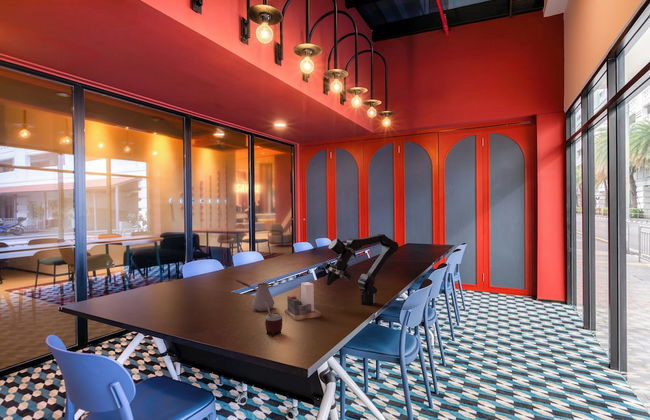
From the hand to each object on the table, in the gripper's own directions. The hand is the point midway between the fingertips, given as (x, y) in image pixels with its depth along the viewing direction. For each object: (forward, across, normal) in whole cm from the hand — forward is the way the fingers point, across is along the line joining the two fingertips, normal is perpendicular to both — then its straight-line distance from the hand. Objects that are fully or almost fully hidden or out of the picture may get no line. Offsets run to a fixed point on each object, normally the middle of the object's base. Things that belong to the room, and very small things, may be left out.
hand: (327, 285), depth 174 cm
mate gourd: (+32, -14, +24) cm, 42 cm away
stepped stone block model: (+19, +1, +3) cm, 19 cm away
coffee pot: (+30, +25, +13) cm, 41 cm away
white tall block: (+15, +1, +2) cm, 16 cm away
